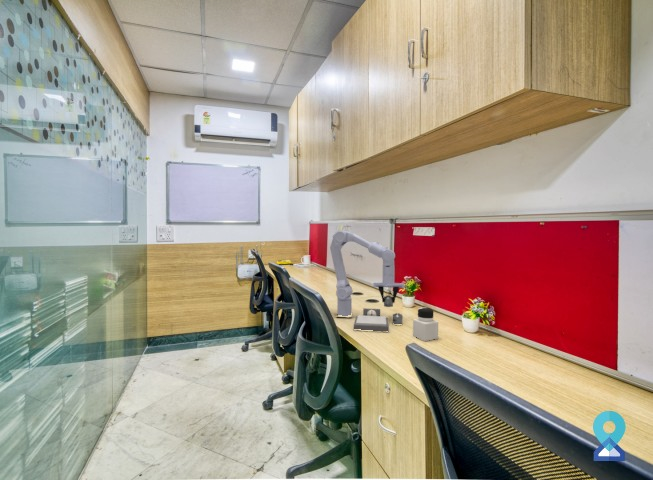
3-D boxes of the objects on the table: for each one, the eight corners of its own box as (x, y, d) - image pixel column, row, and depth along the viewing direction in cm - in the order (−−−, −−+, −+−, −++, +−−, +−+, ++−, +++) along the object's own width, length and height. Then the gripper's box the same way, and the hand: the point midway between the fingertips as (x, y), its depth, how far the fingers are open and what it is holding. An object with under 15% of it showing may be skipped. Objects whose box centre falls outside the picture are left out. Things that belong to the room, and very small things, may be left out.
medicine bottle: (438, 339, 126) (438, 309, 126) (424, 341, 123) (425, 311, 123) (425, 334, 133) (426, 305, 132) (412, 336, 130) (412, 307, 129)
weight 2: (392, 322, 150) (392, 312, 150) (401, 323, 149) (402, 312, 149) (392, 325, 145) (393, 314, 145) (402, 325, 145) (402, 315, 145)
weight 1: (383, 304, 156) (383, 294, 156) (392, 305, 156) (392, 295, 155) (383, 306, 152) (383, 296, 152) (393, 307, 151) (393, 296, 151)
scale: (356, 320, 154) (356, 308, 154) (387, 321, 151) (387, 309, 151) (353, 330, 137) (353, 317, 137) (388, 332, 135) (388, 318, 135)
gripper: (373, 275, 151) (373, 303, 151) (404, 275, 148) (404, 304, 149) (373, 273, 158) (373, 300, 158) (403, 274, 155) (403, 301, 156)
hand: (388, 302), depth 154 cm, fingers closed on weight 1, 4 cm apart
